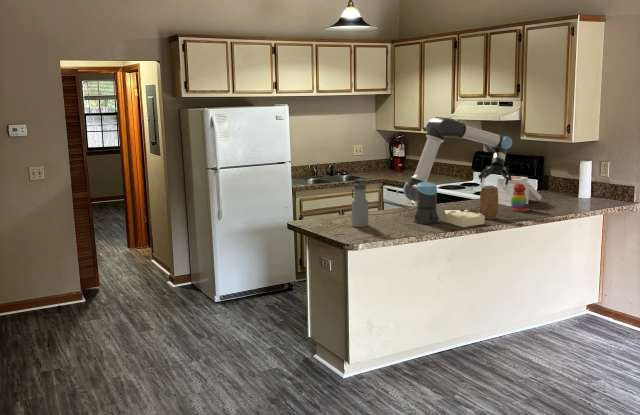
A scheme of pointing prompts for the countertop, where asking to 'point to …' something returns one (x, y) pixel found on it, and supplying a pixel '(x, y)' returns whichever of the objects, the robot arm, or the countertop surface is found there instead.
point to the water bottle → (359, 204)
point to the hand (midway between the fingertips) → (492, 187)
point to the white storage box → (506, 194)
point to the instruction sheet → (452, 211)
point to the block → (489, 202)
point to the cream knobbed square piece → (465, 218)
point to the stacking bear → (519, 198)
